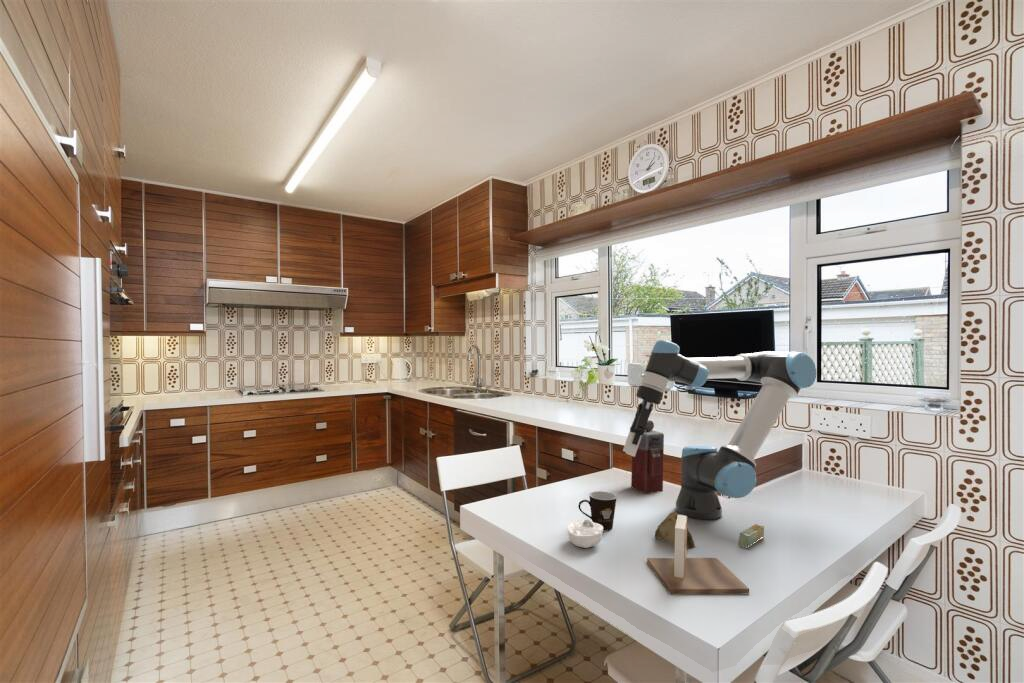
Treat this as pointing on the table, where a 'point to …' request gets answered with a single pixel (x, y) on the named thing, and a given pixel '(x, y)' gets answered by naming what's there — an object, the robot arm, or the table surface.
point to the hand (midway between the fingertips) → (628, 453)
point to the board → (697, 577)
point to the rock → (671, 531)
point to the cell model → (585, 533)
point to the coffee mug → (601, 508)
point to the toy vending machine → (648, 461)
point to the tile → (680, 546)
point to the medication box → (751, 535)
